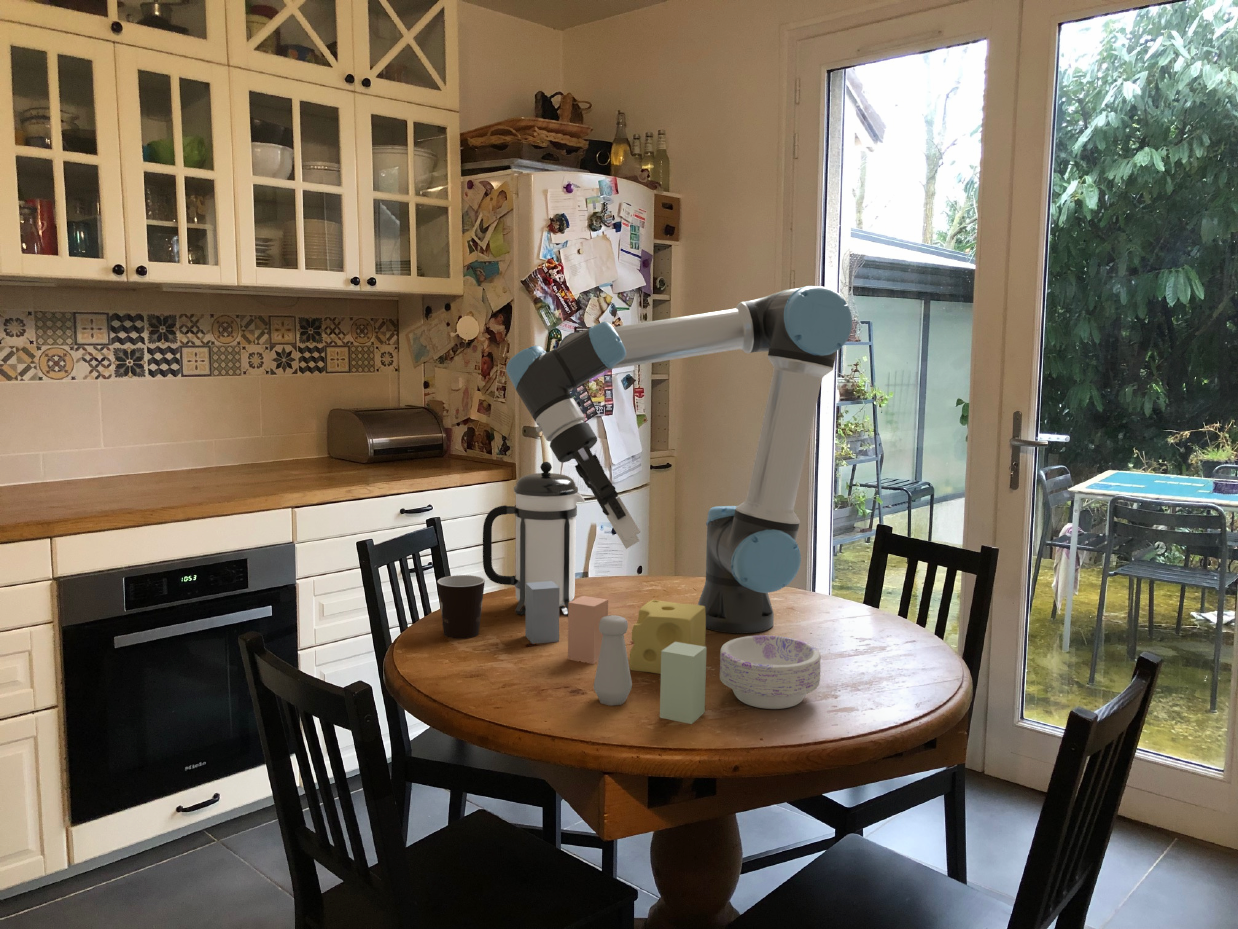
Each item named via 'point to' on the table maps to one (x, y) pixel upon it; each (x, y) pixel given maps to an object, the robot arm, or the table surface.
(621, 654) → the salt shaker
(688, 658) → the sage block
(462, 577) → the coffee mug
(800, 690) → the paper bowls
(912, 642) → the table surface
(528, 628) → the slate block
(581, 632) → the terracotta block
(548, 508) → the coffee press
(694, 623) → the cheese
